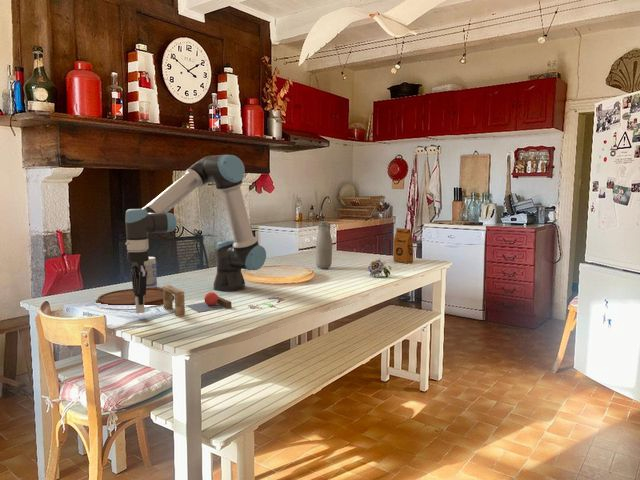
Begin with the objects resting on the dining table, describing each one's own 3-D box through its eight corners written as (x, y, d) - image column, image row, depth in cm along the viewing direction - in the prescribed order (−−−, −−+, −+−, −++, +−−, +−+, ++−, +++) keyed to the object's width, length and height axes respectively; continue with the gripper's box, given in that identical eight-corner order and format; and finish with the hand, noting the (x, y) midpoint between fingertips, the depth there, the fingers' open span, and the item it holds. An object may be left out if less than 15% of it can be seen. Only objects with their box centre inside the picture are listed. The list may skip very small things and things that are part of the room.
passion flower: (373, 287, 264) (361, 268, 265) (382, 280, 273) (370, 262, 274) (388, 277, 257) (375, 259, 258) (397, 271, 266) (384, 253, 267)
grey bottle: (315, 270, 285) (316, 222, 281) (315, 267, 295) (315, 221, 291) (332, 270, 285) (333, 222, 282) (331, 267, 295) (332, 221, 292)
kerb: (214, 300, 210) (214, 294, 210) (231, 307, 198) (231, 301, 197) (210, 301, 209) (209, 295, 209) (227, 308, 196) (226, 302, 196)
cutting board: (181, 304, 205) (181, 298, 204) (99, 314, 189) (98, 308, 189) (165, 290, 232) (165, 284, 232) (91, 297, 216) (91, 292, 216)
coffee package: (405, 264, 306) (406, 229, 304) (391, 261, 316) (391, 228, 313) (415, 262, 313) (416, 228, 310) (401, 260, 322) (401, 227, 320)
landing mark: (214, 301, 209) (214, 300, 209) (228, 307, 199) (228, 306, 199) (185, 305, 201) (185, 305, 201) (198, 312, 191) (198, 311, 191)
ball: (215, 291, 205) (202, 291, 201) (221, 293, 200) (209, 293, 197) (213, 304, 205) (201, 304, 201) (219, 307, 201) (207, 307, 197)
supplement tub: (158, 288, 233) (157, 258, 231) (137, 290, 229) (136, 259, 227) (155, 285, 241) (154, 255, 240) (135, 286, 237) (134, 257, 236)
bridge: (170, 307, 198) (170, 285, 197) (184, 315, 186) (184, 291, 185) (163, 308, 196) (162, 286, 195) (177, 316, 185) (176, 292, 184)
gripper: (122, 249, 183) (124, 310, 186) (132, 253, 173) (135, 318, 176) (142, 247, 188) (144, 307, 191) (153, 251, 178) (156, 314, 180)
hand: (140, 312), depth 183 cm, fingers closed
